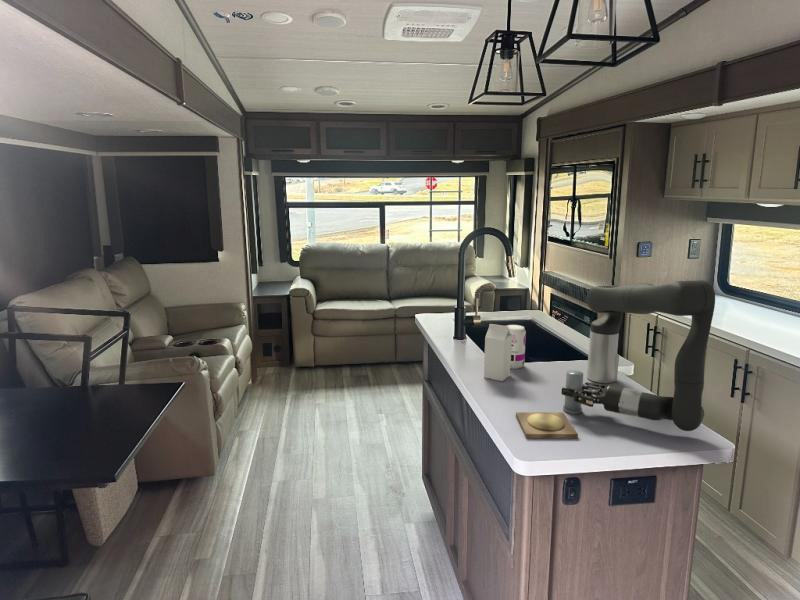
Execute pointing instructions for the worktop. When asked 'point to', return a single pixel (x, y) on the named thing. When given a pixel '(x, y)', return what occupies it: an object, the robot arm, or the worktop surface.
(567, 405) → the grey rounded cylinder
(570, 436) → the post base
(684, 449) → the worktop surface
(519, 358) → the supplement can
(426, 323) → the worktop surface
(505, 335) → the milk carton
